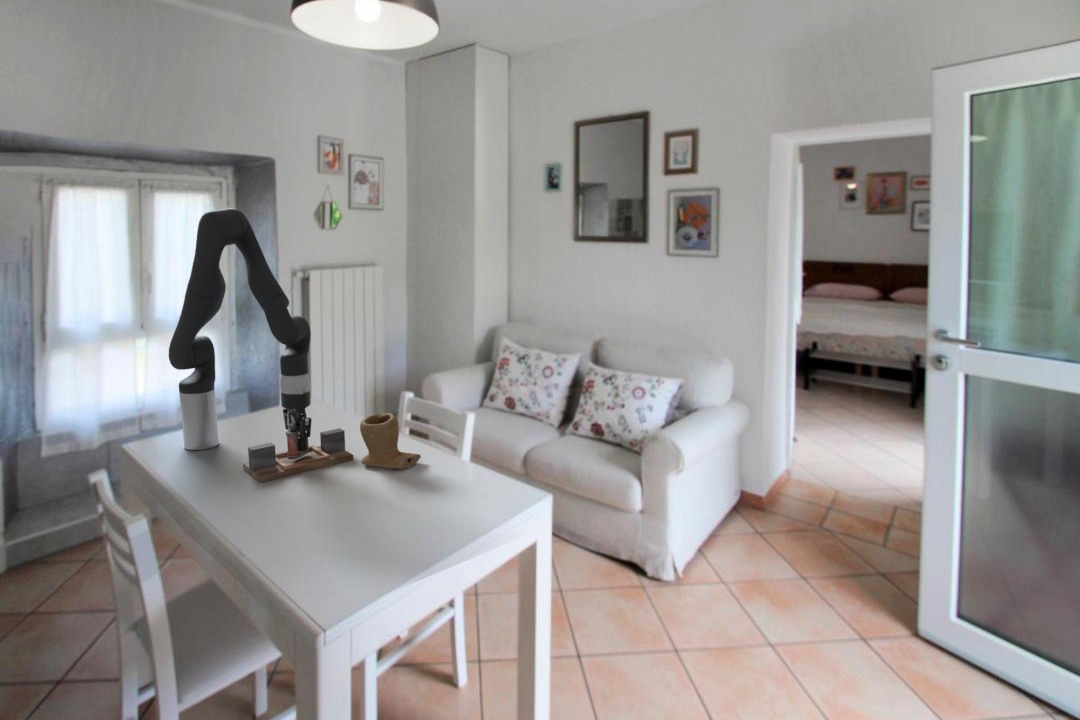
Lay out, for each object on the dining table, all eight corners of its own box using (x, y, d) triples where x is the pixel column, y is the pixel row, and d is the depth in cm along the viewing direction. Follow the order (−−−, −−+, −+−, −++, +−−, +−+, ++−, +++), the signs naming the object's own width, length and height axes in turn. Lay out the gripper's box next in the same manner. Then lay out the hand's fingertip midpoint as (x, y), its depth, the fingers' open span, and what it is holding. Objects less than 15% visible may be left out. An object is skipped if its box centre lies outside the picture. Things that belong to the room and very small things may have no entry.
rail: (243, 468, 170) (241, 442, 169) (333, 447, 188) (332, 424, 187) (260, 482, 161) (259, 455, 160) (353, 459, 179) (352, 434, 177)
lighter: (295, 460, 170) (293, 425, 168) (284, 458, 170) (282, 424, 168) (312, 450, 177) (310, 416, 175) (302, 449, 178) (299, 416, 176)
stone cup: (352, 470, 171) (350, 418, 168) (375, 455, 183) (373, 406, 180) (401, 477, 167) (400, 424, 164) (421, 462, 178) (421, 412, 175)
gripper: (271, 386, 173) (275, 444, 176) (292, 397, 163) (295, 458, 166) (298, 382, 178) (301, 439, 181) (320, 392, 168) (322, 452, 171)
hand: (298, 448), depth 174 cm, fingers closed on lighter, 4 cm apart
